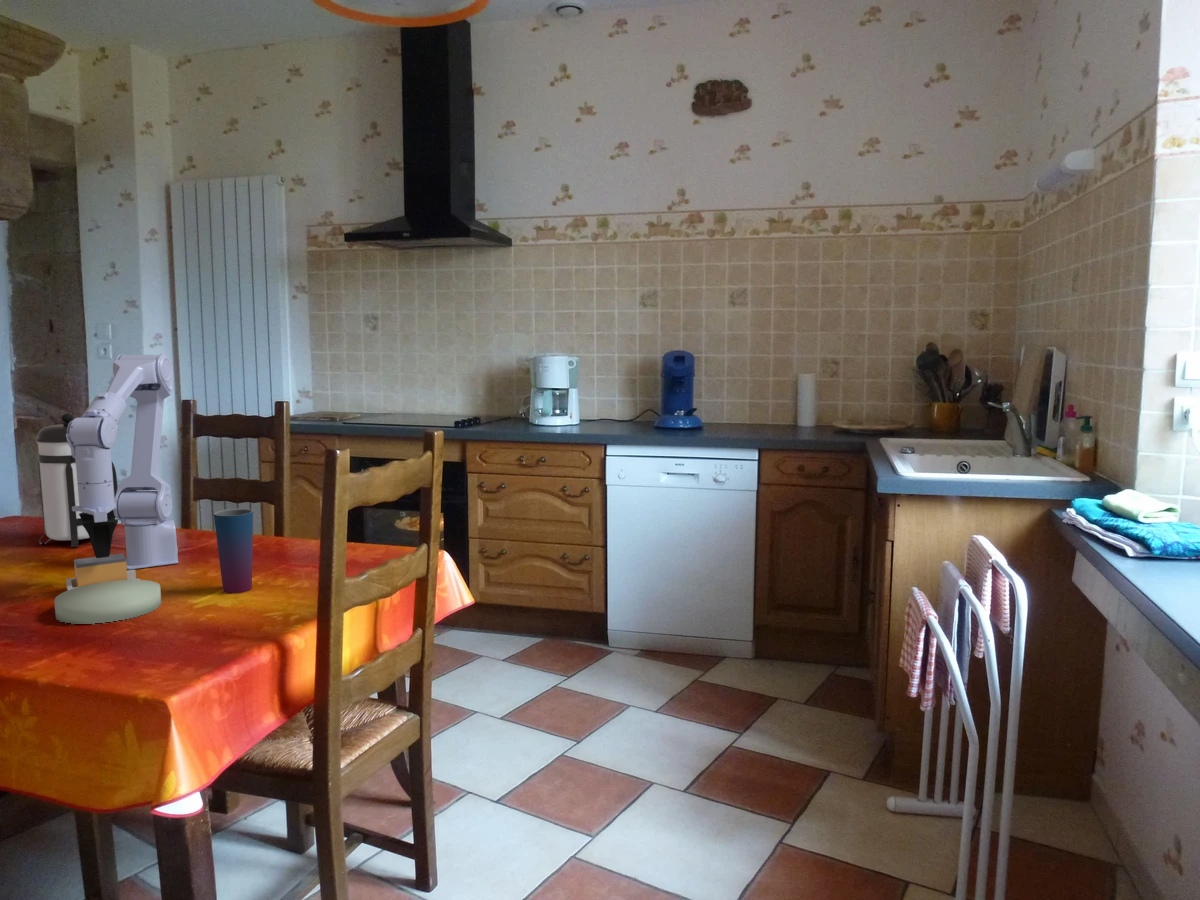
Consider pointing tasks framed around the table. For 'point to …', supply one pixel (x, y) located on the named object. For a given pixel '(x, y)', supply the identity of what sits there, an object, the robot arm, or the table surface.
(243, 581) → the cup
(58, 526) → the coffee press
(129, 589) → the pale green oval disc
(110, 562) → the rectangular flat-faced block
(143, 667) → the table surface
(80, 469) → the robot arm
